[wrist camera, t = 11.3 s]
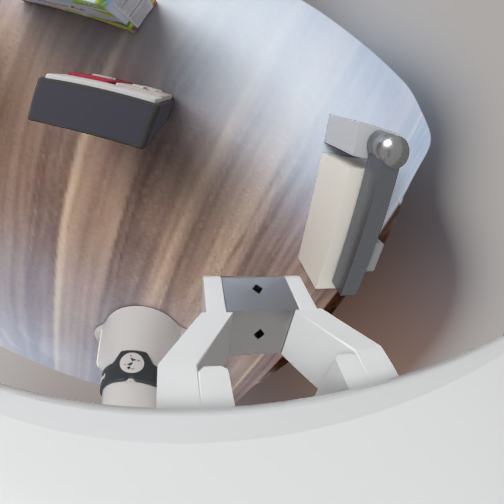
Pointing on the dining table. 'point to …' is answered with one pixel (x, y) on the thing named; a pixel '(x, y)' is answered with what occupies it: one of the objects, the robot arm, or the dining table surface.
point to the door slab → (332, 218)
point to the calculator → (101, 107)
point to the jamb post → (350, 135)
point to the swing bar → (370, 208)
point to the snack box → (107, 10)
